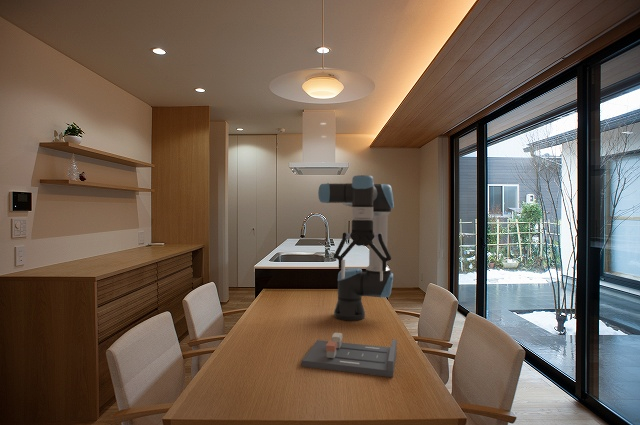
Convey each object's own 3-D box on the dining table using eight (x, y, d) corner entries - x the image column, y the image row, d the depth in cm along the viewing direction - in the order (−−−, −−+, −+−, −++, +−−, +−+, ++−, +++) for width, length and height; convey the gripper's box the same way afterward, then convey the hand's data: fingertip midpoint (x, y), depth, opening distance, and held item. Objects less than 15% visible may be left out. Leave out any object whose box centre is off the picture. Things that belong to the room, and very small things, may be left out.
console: (317, 345, 144) (317, 332, 144) (396, 353, 136) (396, 339, 136) (301, 366, 124) (301, 351, 124) (392, 377, 117) (393, 361, 117)
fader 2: (334, 343, 139) (334, 332, 139) (342, 344, 138) (342, 333, 138) (331, 348, 134) (331, 336, 134) (339, 349, 134) (340, 337, 134)
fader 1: (328, 352, 130) (328, 340, 130) (337, 353, 129) (337, 341, 129) (325, 357, 126) (325, 345, 126) (334, 358, 125) (334, 346, 125)
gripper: (325, 219, 131) (325, 279, 131) (398, 220, 125) (397, 283, 125) (330, 218, 138) (330, 275, 139) (399, 219, 132) (398, 279, 132)
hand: (362, 279), depth 132 cm, fingers open, 13 cm apart
